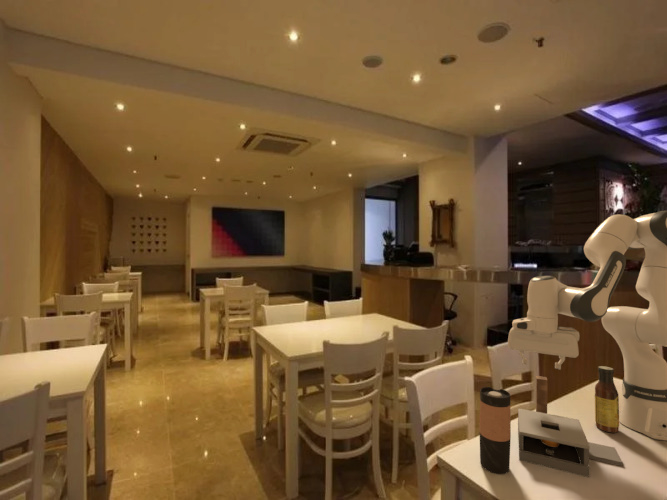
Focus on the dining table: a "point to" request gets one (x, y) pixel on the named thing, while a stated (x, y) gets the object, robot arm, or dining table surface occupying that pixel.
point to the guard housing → (553, 440)
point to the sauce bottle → (606, 401)
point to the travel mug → (495, 430)
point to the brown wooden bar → (541, 394)
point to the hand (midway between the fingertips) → (541, 366)
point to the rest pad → (604, 454)
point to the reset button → (550, 443)
